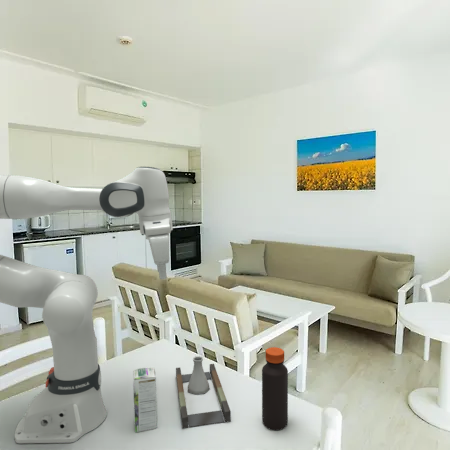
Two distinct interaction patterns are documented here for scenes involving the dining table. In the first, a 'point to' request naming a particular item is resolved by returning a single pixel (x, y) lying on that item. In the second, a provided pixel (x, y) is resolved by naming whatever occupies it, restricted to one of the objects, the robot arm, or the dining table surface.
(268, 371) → the bottle
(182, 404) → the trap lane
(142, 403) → the syrup box
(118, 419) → the dining table surface
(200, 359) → the flask
